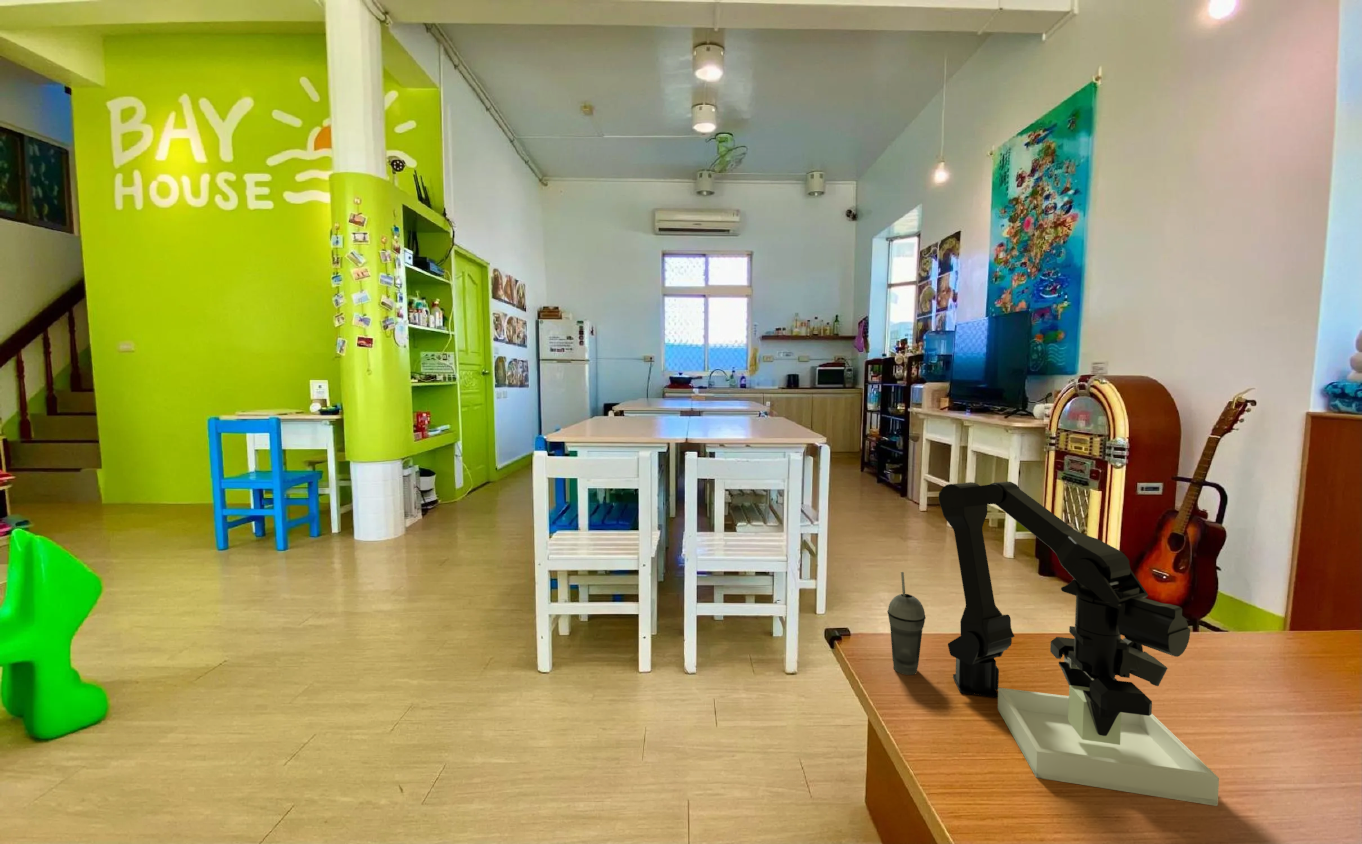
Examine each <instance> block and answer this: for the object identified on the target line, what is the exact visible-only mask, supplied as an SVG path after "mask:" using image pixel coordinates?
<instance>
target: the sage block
mask: <svg viewBox="0 0 1362 844" xmlns="http://www.w3.org/2000/svg"><path fill="white" fill-rule="evenodd" d="M1068 689H1069V690H1068V696H1069V709H1068V721H1069V723H1070V724H1071V725H1072V727H1073V728H1074V729H1075V731H1076V732H1077V733H1078V734H1079V736H1080V737H1081V738H1082V740H1089V741H1097V742H1104V743H1111V744H1118V745H1120V735H1121V712H1120V713H1119V715H1118V716H1117V718H1116V720H1115V721H1114V723H1113V725H1112V727H1111V729H1110V731H1109V733H1108V734H1107V736H1102V735H1099V734H1098V733H1097V731H1096V728H1095V725H1094V722H1093V719H1092V716H1091V713H1090V710H1089V707H1088V704H1087V702H1086V699H1085V696H1084V693H1083V690H1086V691H1090V687H1081V686H1073V685H1069V684H1068Z"/></svg>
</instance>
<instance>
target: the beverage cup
mask: <svg viewBox="0 0 1362 844" xmlns="http://www.w3.org/2000/svg"><path fill="white" fill-rule="evenodd" d="M904 574H905V573H904V571H901V572H900V577H901V578H900V579H901V590H902V591H901V592H902V593H901V594H898V595H895V596H894V597H893V598H892V599H891V601H890V602H889V604H888V608H887V615H888V621H889V628H890V640H891V641H890V642H891V654H892V655H891V656H892V657H891V658H892V663H893V664H892V665H893V670H894V671H896V672H897V673H899V674H901V675H907V676H913V675H916V674H917V673H918V668H919V661H920V653H921V645H922V644H921V643H922V637H923V636H922V635H923V628H924V627H925V621H926V617H927V616H926V615H925V613H926V612H925V609H924V606H923V604H922V602H921V601H920V600H919V598H917V597H915V596H914V595H912V594H909V593H906V585H905V584H906V583H905V575H904Z"/></svg>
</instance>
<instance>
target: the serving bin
mask: <svg viewBox="0 0 1362 844" xmlns="http://www.w3.org/2000/svg"><path fill="white" fill-rule="evenodd" d="M997 693H998V697H997V711H998V712H999V714H1000V716H1001V718H1002V719H1003V721H1004V722H1005V725H1006V727H1007V728H1008V730H1009V732H1010V734H1011V735H1012V737H1013V739H1014V741H1015V742H1016V744H1017V746H1018V748H1019V750H1020V752H1022V754H1023V756H1024V759H1025V761H1026V762H1027V764H1028V766H1029V767H1030V770H1031V771H1032V772H1033V774H1034V776H1035V778H1036V779H1043V780H1048V781H1049V780H1050V781H1056V782H1061V783H1062V782H1063V783H1070V784H1076V785H1083V786H1088V787H1095V788H1100V789H1107V790H1114V791H1120V792H1125V793H1132V794H1138V795H1139V794H1140V795H1143V796H1144V795H1145V796H1152V797H1157V798H1164V799H1169V800H1170V799H1171V800H1177V801H1183V802H1190V803H1195V804H1196V803H1197V804H1202V805H1208V806H1215V807H1218V806H1219V787H1220V777H1218V775H1216V774H1215V772H1214V771H1212V769H1210V768H1209V767H1208V766H1207V765H1206V764H1205V763H1204V762H1203V761H1202V760H1201V759H1200V758H1199V757H1198V756H1197V755H1196V754H1195V753H1194V752H1193V751H1192V750H1190V748H1188V746H1187V745H1185V743H1183V742H1182V740H1180V739H1179V738H1178V737H1177V736H1176V735H1175V734H1174V733H1173V732H1172V731H1171V730H1170V729H1169V728H1167V726H1166V725H1165V724H1164V723H1162V722H1161V720H1160V719H1158V718H1157V717H1156V716H1155V715H1154V714H1153V713H1152V714H1151V715H1150V716H1147V715H1139V714H1131V713H1123V712H1121V735H1120V745H1118V744H1111V743H1104V742H1097V741H1089V740H1082V738H1081V737H1080V736H1079V734H1078V733H1077V732H1076V731H1075V729H1074V728H1073V727H1072V725H1071V724H1070V723H1069V721H1068V709H1069V695H1062V694H1055V693H1053V694H1052V693H1047V692H1038V691H1029V690H1022V689H1021V690H1020V689H1014V688H1007V687H1005V688H1004V687H998V690H997Z"/></svg>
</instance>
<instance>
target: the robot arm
mask: <svg viewBox="0 0 1362 844" xmlns="http://www.w3.org/2000/svg"><path fill="white" fill-rule="evenodd" d="M938 503H939V505H940V509H941V512H942V516H943V518H944V519H945V520H946V521H947V523H948V524H949V526H950V527H951V529H952V530H953V533H954V539H955V545H956V546H955V547H956V550H957V551H956V552H957V557H958V564H959V570H960V576H961V582H962V589H963V595H964V601H965V607H964V610H963V613H962V615H961V618H960V624H959V625H960V635H959V636H958V637H956V638H954V639H953V640H951V641H950V642H948V643H947V647H948V651H949V654H950V656H951V657H953V658H955V673H954V674H952V675H953V676H952V678H953V680H954V682H955V684H956V687H957V689H958V691H959V692H960V693H961V694H964V695H965V694H967V695H975V696H980V697H981V696H982V697H989V698H998V688H999V676H1000V669H999V667H998V666H997V661H996V659H995V658H1000V657H1002V656H1003V654H1004V652H1005V651H1006V650H1008V649H1009V647H1011V646H1012V642H1013V639H1012V638H1015V634H1014V632H1013V629H1012V625H1011V624H1012V619H1011V617H1010V616H1011V615H1009V614H1002V612H1001V610H1000V609H999V608H998V607H997V606H996V601H995V597H994V591H993V586H992V585H993V584H992V579H991V573H990V567H989V562H988V555H987V550H986V544H985V538H984V533H983V526H984V523H985V520H986V518H987V515H988V505H996V506H997V507H998V508H999V509H1001V510H1002V511H1004V512H1005V513H1006V514H1007V515H1008V516H1010V517H1011V518H1012V519H1014V520H1015V521H1016V522H1017V523H1018V524H1020V525H1021V526H1022V527H1024V528H1025V529H1026V530H1027V531H1028V532H1030V533H1031V534H1032V535H1033V536H1035V537H1036V538H1037V539H1039V541H1041V542H1042V543H1043V544H1045V545H1047V546H1048V547H1049V548H1050V549H1051V550H1052V551H1053V553H1055V555H1056V556H1057V559H1058V561H1059V563H1060V565H1061V566H1062V568H1063V569H1065V571H1066V572H1067V573H1068V574H1069V575H1070V576H1071V577H1072V578H1073V579H1072V580H1071V582H1069V583H1068V584H1066V585H1064V586H1061V588H1060V590H1061V591H1062V593H1066V594H1068V595H1072V596H1075V614H1074V619H1075V621H1074V626H1073V625H1071V626H1069V631H1068V632H1069V634H1071V636H1073V637H1072V638H1071V637H1062V636H1056V637H1055V638H1053V639H1051V640H1050V650H1049V651H1050V653H1051V654H1052V655H1053V657H1055V658H1056V660H1057V659H1058V660H1061V659H1063V661H1058V665H1059V667H1060V669H1061V670H1062V673H1063V676H1064V677H1065V679H1066V682H1067V685H1068V686H1069V685H1073V686H1081V687H1090V691H1086V690H1083V693H1084V696H1085V699H1086V702H1087V704H1088V707H1089V710H1090V713H1091V716H1092V719H1093V722H1094V725H1095V728H1096V731H1097V733H1098V734H1099V735H1102V736H1107V734H1108V733H1109V731H1110V729H1111V727H1112V725H1113V723H1114V721H1115V720H1116V718H1117V716H1118V715H1119V713H1120V712H1123V713H1131V714H1139V715H1147V716H1150V715H1151V714H1153V713H1152V710H1153V701H1152V700H1151V699H1150V698H1149V697H1148V696H1147V694H1145V693H1144V692H1143V691H1142V690H1141V689H1139V687H1138V686H1136V685H1135V684H1134V683H1133V682H1132V681H1125V680H1124V681H1123V680H1118V679H1117V678H1115V677H1116V676H1119V678H1125V679H1130V677H1131V675H1132V676H1134V677H1136V678H1137V677H1138V678H1140V679H1142V680H1144V681H1147V682H1149V683H1150V684H1151V685H1153V686H1155V687H1159V686H1160V684H1161V682H1162V680H1163V678H1164V677H1165V674H1166V672H1167V671H1168V669H1169V668H1168V667H1167V666H1166V665H1164V664H1163V663H1162V662H1161V661H1160V660H1159V659H1157V658H1156V657H1155V656H1152V655H1151V654H1149V653H1148V652H1146V651H1144V647H1147V648H1149V649H1153V650H1154V651H1159V652H1161V653H1164V654H1167V655H1168V656H1169V655H1170V656H1171V657H1175V658H1176V657H1177V658H1178V657H1180V656H1181V655H1183V653H1184V652H1185V651H1186V649H1187V647H1188V645H1189V640H1190V636H1191V629H1190V628H1189V624H1188V621H1187V618H1186V617H1185V616H1183V608H1182V607H1181V606H1179V605H1175V604H1171V603H1163V602H1159V601H1156V600H1152V599H1150V598H1147V597H1148V596H1149V593H1148V592H1147V590H1146V589H1145V587H1144V586H1143V585H1142V584H1141V582H1140V581H1139V580H1138V578H1137V577H1136V574H1135V573H1134V572H1133V570H1132V569H1131V565H1130V560H1129V558H1128V557H1127V556H1126V555H1125V554H1124V553H1123V552H1122V551H1121V550H1120V549H1117V548H1115V547H1114V546H1111V545H1109V544H1108V543H1106V542H1104V541H1102V540H1101V539H1098V538H1095V537H1092V536H1091V535H1090V536H1089V535H1087V534H1085V533H1082V532H1080V531H1078V530H1076V529H1075V528H1073V527H1072V526H1070V525H1069V524H1068V523H1067V522H1065V521H1063V520H1062V519H1061V518H1059V517H1058V516H1057V515H1055V514H1054V513H1053V512H1051V511H1050V510H1049V509H1047V508H1046V507H1045V506H1043V505H1042V504H1041V503H1039V502H1038V501H1037V500H1035V499H1034V498H1033V497H1031V496H1030V495H1029V494H1027V493H1025V492H1024V490H1022V489H1020V487H1019V485H1017V484H1016V483H1014V482H1012V481H998V482H997V481H996V482H992V483H990V484H984V485H980V484H979V483H976V482H971V481H969V482H959V483H949V484H946V485H945V486H943V487H942V489H940V491H939V492H938ZM1115 585H1119V588H1115V589H1113V587H1112V586H1115ZM1123 636H1124V638H1121V637H1123ZM1143 646H1144V647H1143Z"/></svg>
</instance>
